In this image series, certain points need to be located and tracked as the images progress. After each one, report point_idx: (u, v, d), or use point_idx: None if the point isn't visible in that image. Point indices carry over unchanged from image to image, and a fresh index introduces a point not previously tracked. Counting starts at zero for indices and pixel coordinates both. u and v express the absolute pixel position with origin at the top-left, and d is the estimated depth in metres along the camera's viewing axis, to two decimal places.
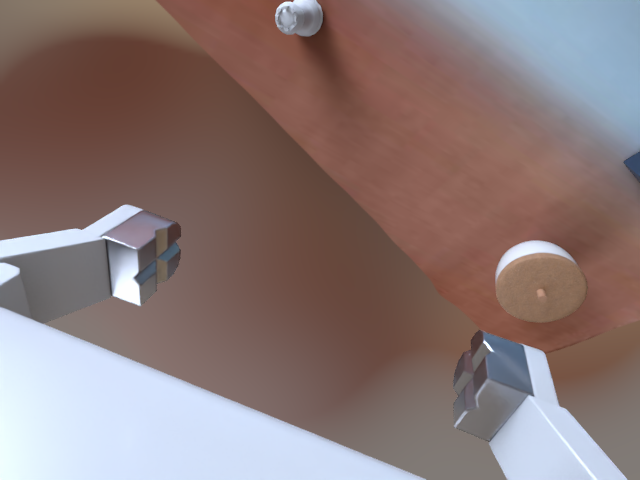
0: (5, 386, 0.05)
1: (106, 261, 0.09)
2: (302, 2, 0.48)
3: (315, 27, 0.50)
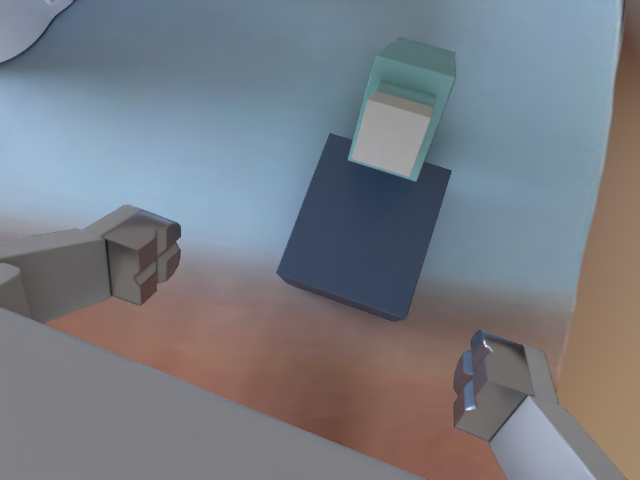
0: (5, 386, 0.05)
1: (107, 261, 0.09)
2: None
3: None
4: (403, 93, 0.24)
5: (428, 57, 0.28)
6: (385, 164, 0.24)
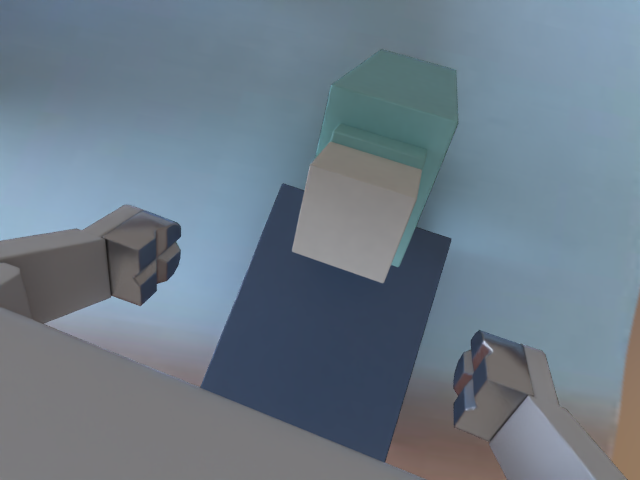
0: (5, 386, 0.05)
1: (106, 261, 0.09)
2: None
3: None
4: (374, 147, 0.15)
5: (417, 82, 0.19)
6: (343, 262, 0.15)
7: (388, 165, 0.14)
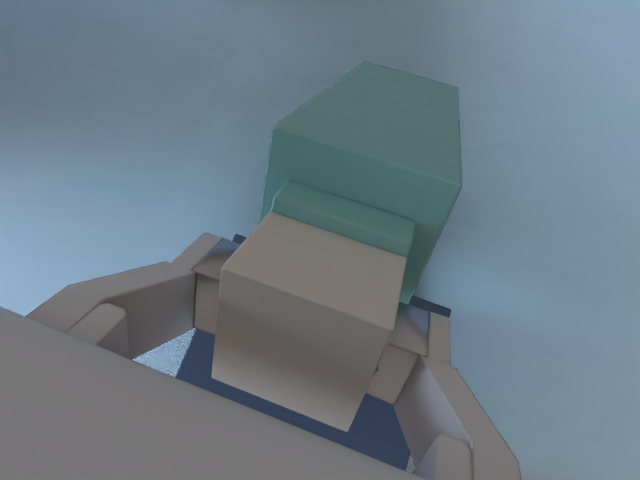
0: (5, 386, 0.05)
1: (194, 294, 0.09)
2: None
3: None
4: (334, 222, 0.10)
5: (406, 111, 0.14)
6: (287, 400, 0.10)
7: (354, 254, 0.09)
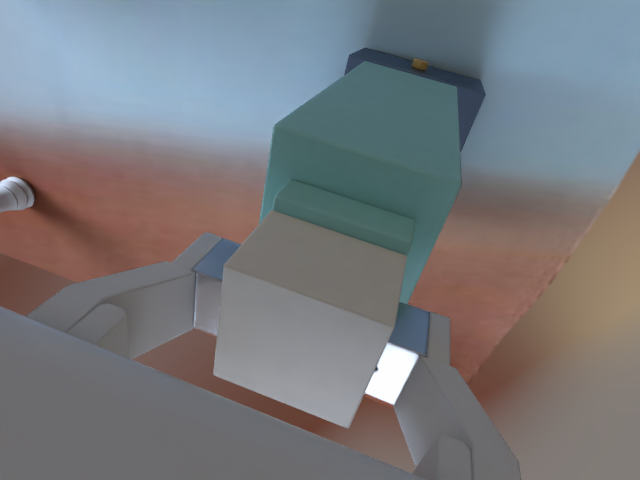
0: (5, 386, 0.05)
1: (194, 294, 0.09)
2: None
3: (22, 199, 0.52)
4: (335, 220, 0.10)
5: (405, 111, 0.14)
6: (288, 396, 0.10)
7: (355, 252, 0.09)
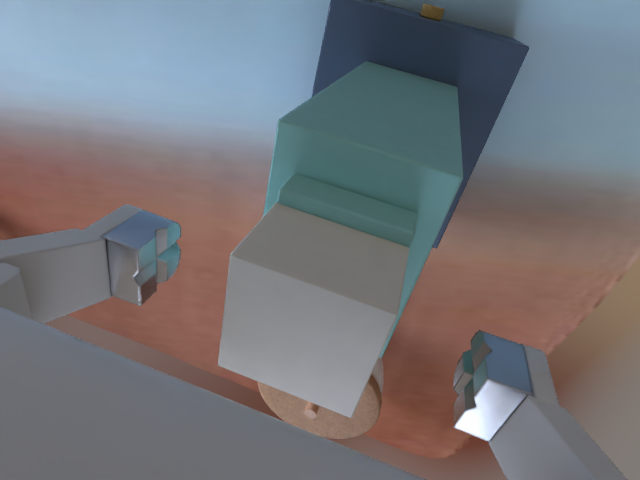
0: (5, 386, 0.05)
1: (107, 261, 0.09)
2: None
3: None
4: (339, 213, 0.10)
5: (407, 108, 0.14)
6: (292, 386, 0.10)
7: (358, 243, 0.10)
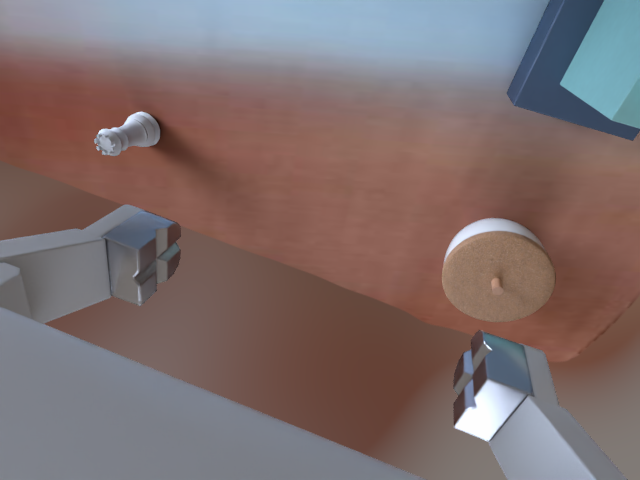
0: (5, 386, 0.05)
1: (106, 261, 0.09)
2: (128, 121, 0.50)
3: (151, 134, 0.51)
4: None
5: None
6: None
7: None
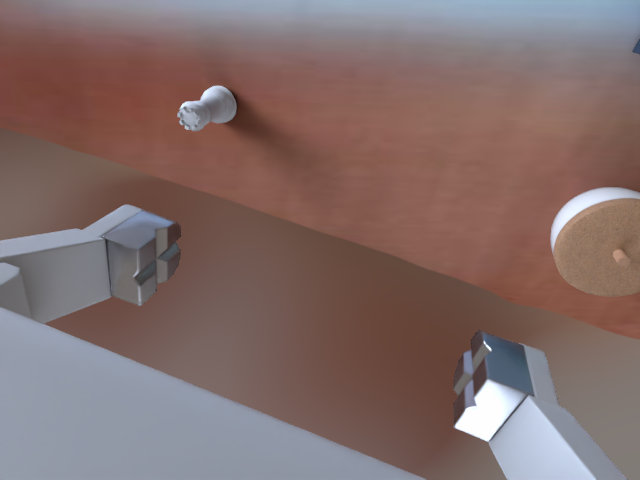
0: (5, 386, 0.05)
1: (107, 261, 0.09)
2: (206, 95, 0.48)
3: (229, 108, 0.49)
4: None
5: None
6: None
7: None
